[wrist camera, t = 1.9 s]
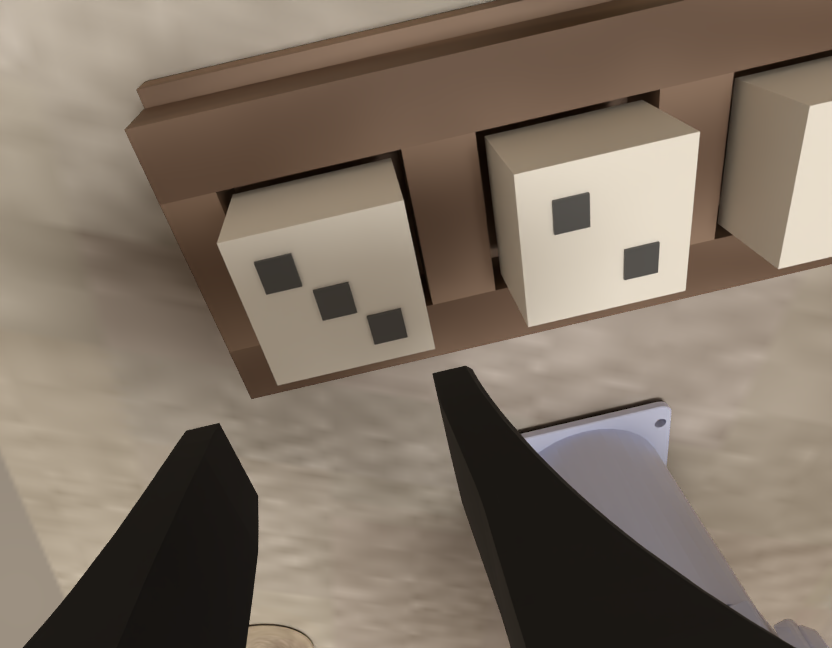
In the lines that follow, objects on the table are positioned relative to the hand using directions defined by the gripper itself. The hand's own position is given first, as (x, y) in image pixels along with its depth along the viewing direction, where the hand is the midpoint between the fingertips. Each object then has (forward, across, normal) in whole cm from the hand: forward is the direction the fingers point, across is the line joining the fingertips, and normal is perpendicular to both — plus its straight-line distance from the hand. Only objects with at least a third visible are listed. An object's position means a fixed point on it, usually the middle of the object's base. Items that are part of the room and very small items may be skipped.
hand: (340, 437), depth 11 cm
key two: (+8, -7, 0) cm, 10 cm away
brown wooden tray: (+10, -7, 0) cm, 13 cm away
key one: (+8, -14, 0) cm, 16 cm away
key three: (+8, 0, 0) cm, 8 cm away
